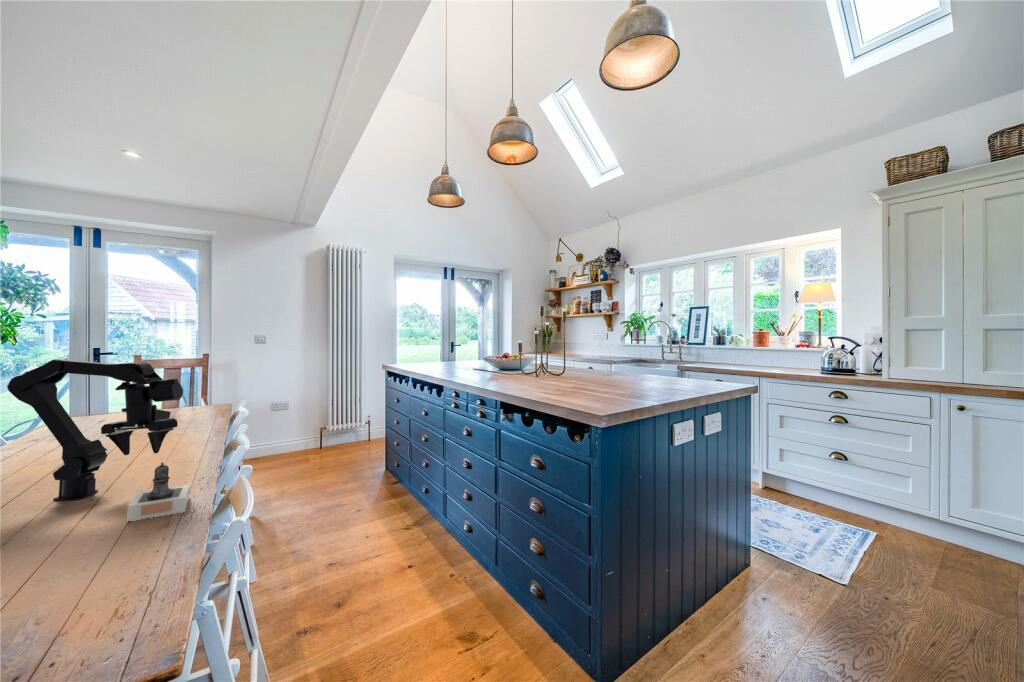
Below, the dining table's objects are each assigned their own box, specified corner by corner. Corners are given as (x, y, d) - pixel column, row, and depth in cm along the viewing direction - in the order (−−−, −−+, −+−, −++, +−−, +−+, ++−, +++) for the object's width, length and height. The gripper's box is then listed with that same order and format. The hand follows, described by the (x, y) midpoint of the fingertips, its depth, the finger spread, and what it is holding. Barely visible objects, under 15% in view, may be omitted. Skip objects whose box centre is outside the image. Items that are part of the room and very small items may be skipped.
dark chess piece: (164, 509, 102) (166, 465, 103) (138, 510, 101) (141, 465, 101) (178, 501, 108) (181, 459, 108) (155, 502, 107) (157, 459, 107)
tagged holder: (126, 522, 96) (127, 507, 96) (136, 507, 106) (137, 492, 106) (184, 512, 103) (185, 498, 103) (188, 498, 112) (189, 485, 112)
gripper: (191, 397, 124) (193, 445, 124) (135, 401, 124) (138, 448, 124) (159, 403, 113) (162, 455, 113) (97, 406, 113) (100, 458, 113)
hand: (141, 453), depth 116 cm, fingers open, 9 cm apart
